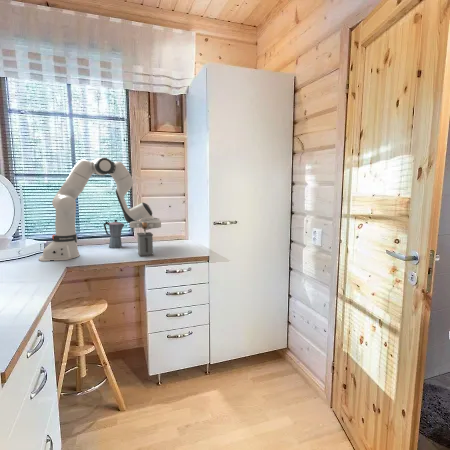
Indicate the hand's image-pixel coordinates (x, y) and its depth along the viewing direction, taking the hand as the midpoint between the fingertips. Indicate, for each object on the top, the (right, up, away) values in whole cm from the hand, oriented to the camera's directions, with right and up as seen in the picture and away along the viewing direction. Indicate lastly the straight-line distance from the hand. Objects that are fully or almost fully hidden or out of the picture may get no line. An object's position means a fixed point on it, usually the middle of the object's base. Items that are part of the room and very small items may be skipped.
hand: (144, 226), depth 199 cm
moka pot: (-28, -15, +25) cm, 41 cm away
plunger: (0, -17, +3) cm, 18 cm away
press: (0, -19, +3) cm, 19 cm away
